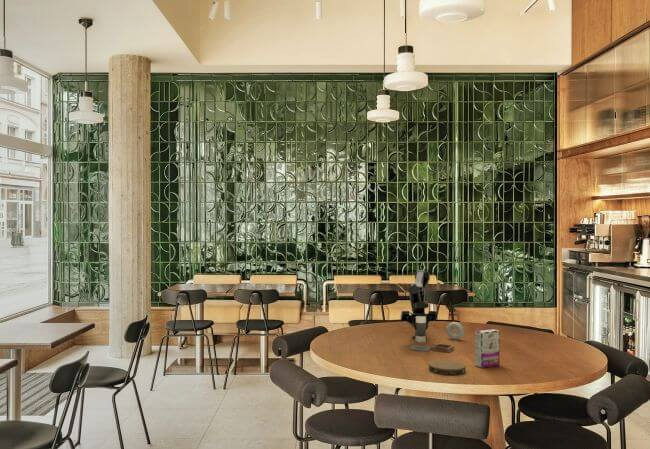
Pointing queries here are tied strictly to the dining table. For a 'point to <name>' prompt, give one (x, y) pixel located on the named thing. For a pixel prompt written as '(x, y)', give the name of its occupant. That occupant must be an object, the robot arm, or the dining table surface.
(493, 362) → the candy bar box
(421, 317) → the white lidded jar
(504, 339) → the dining table surface
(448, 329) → the donut
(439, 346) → the walnut collar
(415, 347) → the charcoal mat
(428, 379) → the dining table surface
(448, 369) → the brown round disc
